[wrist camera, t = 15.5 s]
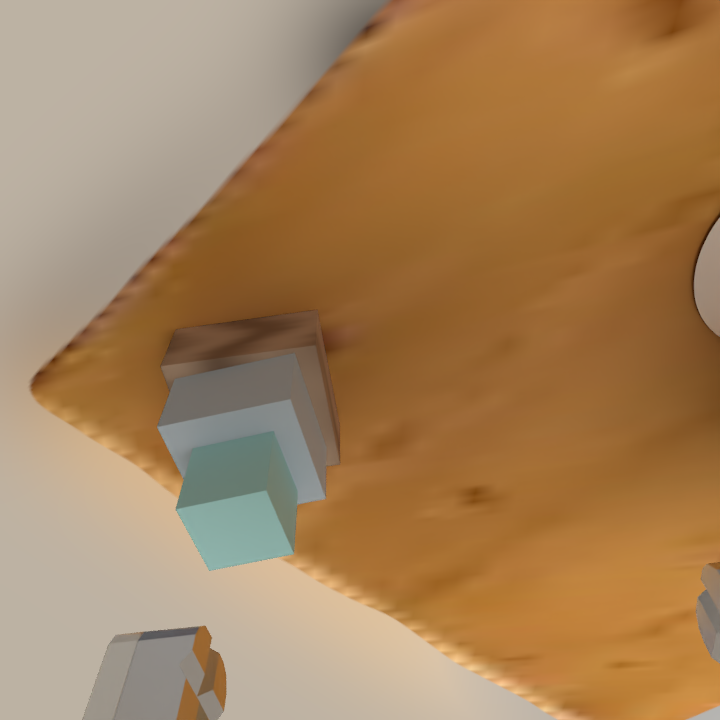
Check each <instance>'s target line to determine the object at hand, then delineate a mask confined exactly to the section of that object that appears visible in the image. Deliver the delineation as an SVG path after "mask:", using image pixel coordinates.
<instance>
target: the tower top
mask: <svg viewBox="0 0 720 720" xmlns="http://www.w3.org/2000/svg"><path fill="white" fill-rule="evenodd" d="M157 428H158V430H159V432H160V434H161V436H162V438H163V440H164V442H165V444H166V446H167V448H168V450H169V452H170V454H171V456H172V458H173V460H174V461H175V463H176V465H177V467H178V469H179V471H180V473H181V475H182V477H183V479H184V478H185V474H186V471H187V467H188V464H189V460H190V456H191V453H192V449H193V448H197V447H201V446H206V445H211V444H215V443H220V442H225V441H229V440H234V439H238V438H243V437H248V436H252V435H257V434H262V433H266V432H271V431H274V433H275V436H276V438H277V441H278V443H279V446H280V448H281V451H282V453H283V456H284V458H285V461H286V463H287V466H288V468H289V470H290V473H291V475H292V478H293V480H294V483H295V485H296V488H297V490H298V499H297V504H302V503H307V502H312V501H317V500H322V499H326V445H325V442H324V439H323V436H322V433H321V430H320V427H319V424H318V421H317V418H316V415H315V412H314V409H313V406H312V403H311V400H310V397H309V394H308V391H307V388H306V385H305V382H304V379H303V376H302V373H301V370H300V367H299V364H298V361H297V358H296V355H295V353H292V354H288V355H283V356H278V357H274V358H269V359H265V360H260V361H255V362H251V363H246V364H241V365H237V366H232V367H228V368H223V369H218V370H214V371H209V372H204V373H200V374H195V375H191V376H186V377H181V378H177V379H175V380H174V382H173V385H172V388H171V391H170V393H169V396H168V399H167V402H166V404H165V407H164V410H163V412H162V415H161V418H160V421H159V423H158V426H157Z"/></svg>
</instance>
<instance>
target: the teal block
mask: <svg viewBox="0 0 720 720" xmlns="http://www.w3.org/2000/svg"><path fill="white" fill-rule="evenodd" d="M297 499H298V490H297V488H296V485H295V483H294V480H293V478H292V475H291V473H290V470H289V468H288V466H287V463H286V461H285V458H284V456H283V453H282V451H281V448H280V446H279V443H278V441H277V438H276V436H275V433H274V431H271V432H266V433H262V434H257V435H252V436H248V437H243V438H238V439H234V440H229V441H225V442H220V443H215V444H211V445H206V446H201V447H197V448H193V449H192V453H191V456H190V460H189V464H188V467H187V471H186V474H185V478H184V481H183V485H182V488H181V492H180V495H179V499H178V503H177V506H176V511H177V513H178V514H179V516H180V518H181V520H182V522H183V524H184V526H185V527H186V529H187V531H188V533H189V535H190V536H191V538H192V540H193V542H194V544H195V546H196V547H197V549H198V551H199V553H200V555H201V556H202V558H203V560H204V562H205V564H206V565H207V567H208V569H209V571H211V570H216V569H221V568H226V567H231V566H237V565H242V564H247V563H252V562H257V561H262V560H267V559H272V558H277V557H282V556H287V555H292V554H294V546H295V530H296V515H297Z"/></svg>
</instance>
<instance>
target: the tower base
mask: <svg viewBox="0 0 720 720" xmlns="http://www.w3.org/2000/svg"><path fill="white" fill-rule="evenodd" d="M292 353H295V355H296V358H297V361H298V364H299V367H300V370H301V373H302V376H303V379H304V382H305V385H306V388H307V391H308V394H309V397H310V400H311V403H312V406H313V409H314V412H315V415H316V418H317V421H318V424H319V427H320V430H321V433H322V436H323V439H324V442H325V445H326V466H332V465H339V464H340V423H339V418H338V413H337V407H336V402H335V397H334V392H333V387H332V382H331V377H330V372H329V366H328V361H327V356H326V351H325V346H324V341H323V336H322V331H321V325H320V320H319V315H318V310H312V311H304V312H297V313H290V314H283V315H276V316H268V317H261V318H254V319H247V320H239V321H232V322H225V323H218V324H211V325H203V326H196V327H189V328H182V329H176V330H175V333H174V335H173V337H172V340H171V342H170V345H169V347H168V349H167V352H166V354H165V357H164V359H163V361H162V364H161V369H162V372H163V375H164V377H165V380H166V383H167V386H168V388H169V391H171V388H172V385H173V382H174V380H175V379H177V378H181V377H186V376H191V375H195V374H200V373H204V372H209V371H214V370H218V369H223V368H228V367H232V366H237V365H241V364H246V363H251V362H255V361H260V360H265V359H269V358H274V357H278V356H283V355H288V354H292Z"/></svg>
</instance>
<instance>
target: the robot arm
mask: <svg viewBox="0 0 720 720" xmlns="http://www.w3.org/2000/svg"><path fill="white" fill-rule="evenodd" d="M694 295H695V301H696V305H697V308H698V311H699V313H700V315H701V317H702V319H703V320H704V322H705V323H706V325H707V326H708V327H709V328H710V329H711V330H712V331H713V332H714V333H715V334H716V335H718V336H719V337H720V218H719V219H718V221H717V222H716V223H715V225H714V226H713V228H712V230H711V231H710V233H709V235H708V237H707V239H706V241H705V243H704V245H703V247H702V250H701V252H700V255H699V258H698V261H697V265H696V270H695V276H694ZM701 580H702V582H703V584H704V586H705V587H706V590H705V591H704V592H703V593H702V594H701V595H700V596H698V599H697V607H696V614H697V620H698V625H699V630H700V632H701V635H702V638H703V641H704V643H705V645H706V647H707V649H708V651H709V653H710V655H711V657H712V658H713V659H714V660H716V661H717V662H719V663H720V562H717V563H709V564H707V565H706V566H705V567H704V568H703V571H702V576H701ZM211 639H212V637H211V635H210V633H209V631H208V630H207V628H206V626H197V627H188V628H178V629H168V630H158V631H148V632H137V633H130V634H121V635H115V637H114V638H113V639H112V641H111V642H110V643H109V645H108V647H107V650H106V653H105V656H104V659H103V661H102V664H101V667H100V670H99V673H98V676H97V679H96V681H95V685H94V687H93V690H92V693H91V696H90V699H89V702H88V705H87V707H86V710H85V714H84V716H83V719H82V720H217V719H218V718H219V717H220V716H221V714H222V713H223V711H224V706H225V699H226V672H225V668H224V663H223V660H222V658H221V656H220V654H219V653H218V652H216V651H214V650H212V649H211V648H210V644H211Z"/></svg>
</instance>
